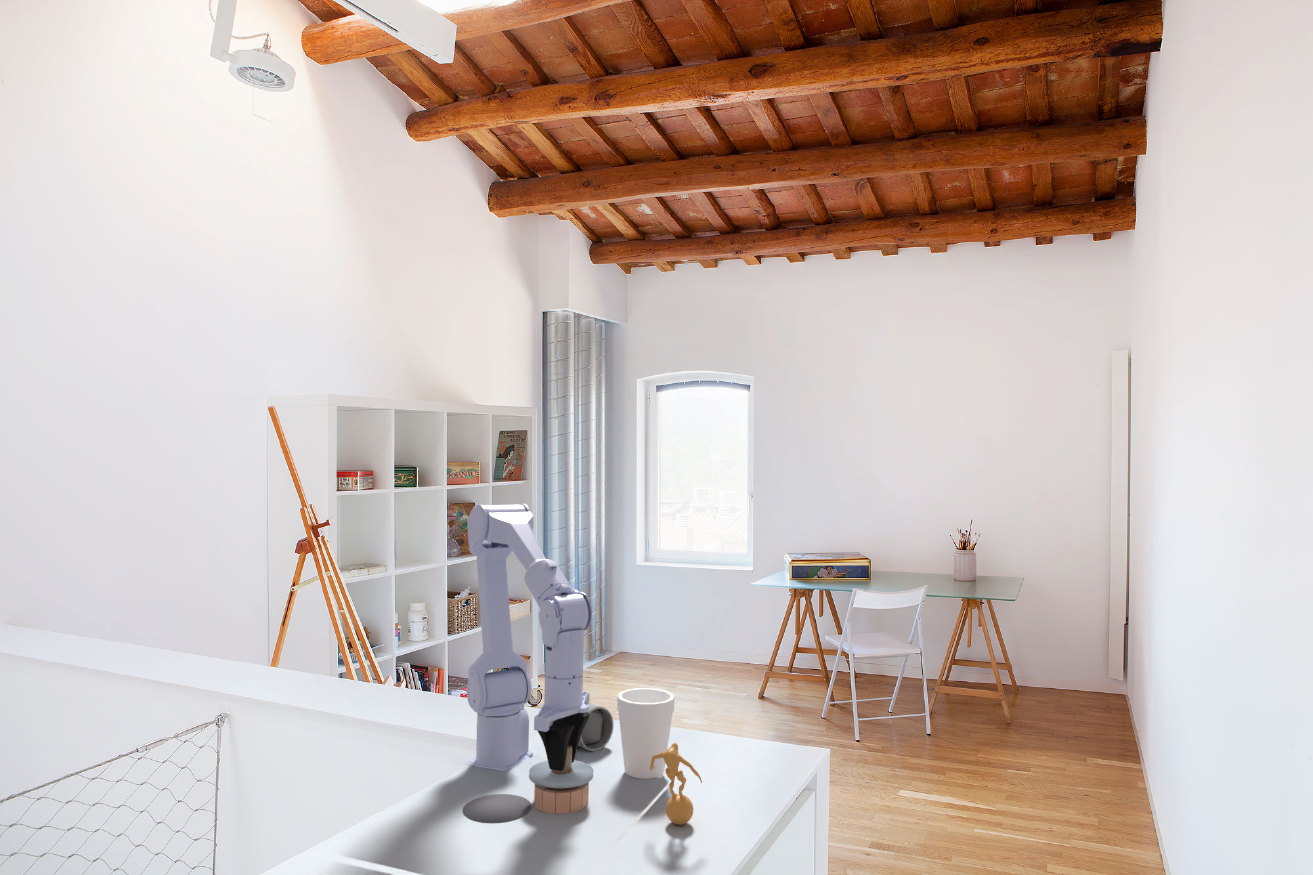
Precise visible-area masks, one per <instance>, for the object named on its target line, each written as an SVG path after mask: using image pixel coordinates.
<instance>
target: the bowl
mask: <svg viewBox="0 0 1313 875" xmlns="http://www.w3.org/2000/svg"><path fill="white" fill-rule="evenodd" d="M589 783H590V782H588V783H586V784H584V785H581V786H577V787H572V788H548V787H543V786H540V785H537V784H535V783H534V786H533V789H534V793H533V796H534V797H533V801H534V802H533V803H534V804H533V805H534V807H535V808H536V809H538V810H539V811H542V812H543V813H547V814H548V813H549V814H557V815H559V814H571V813H574V812H577V811H578V812H579V811H580V810H581V811H582V810H583V809H584V808H585V807H586V806H587V805H588V804H589V795H590V794H589V788H590V784H589Z"/></svg>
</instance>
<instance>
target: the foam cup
mask: <svg viewBox="0 0 1313 875" xmlns="http://www.w3.org/2000/svg"><path fill="white" fill-rule="evenodd" d="M616 702H617V703H616V705H617V706H616V710H617V712H618V720H619V728H620V737H621V738H620V739H621V745H622V747H621V749H622V756H623V757H622V758H623V766H624V773H625V774H626V775H627V776H629V777H632V778H636V779H642V780H643V779H644V780H645V779H647V780H649V779H656V778H657V779H663V777H664V775H665V774H664V773H665V770H666V763H665V761H664V758H659V759H655V761H654V765H653V766H655V767H653V768H654V770H653V768H652V770H651V771H650V765H651V761H652V757H653V756H654V755H657V754H660V753H662V752H665V751H667V750H668V749H669V748H668V747H669V741H670V740H669V738H670V734H671V725H672V718H673V713H674V712H675V695H674V693H672V692H670V691H668V690H664V689H661V688H654V687H653V688H652V687H645V688H644V687H638V688H630V689H629V688H628V689H626V690H623V691H620V692H618V694H617V698H616Z"/></svg>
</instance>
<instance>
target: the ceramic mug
mask: <svg viewBox="0 0 1313 875" xmlns="http://www.w3.org/2000/svg"><path fill="white" fill-rule="evenodd" d="M588 705H589V710H588V711H587V712H588V713H589V719H588V721H587V723H586V724H585V727H584V729H583V731H582V734H581V737H580V740H579V744H578V747H580V748H583V750H586V751H589V752H597V751H600V750H602V749H603V748H604V747H605V746H607V744H608V743H609V742H610V740H611V738H612V735H613V732H614V719H613V718H614V717H613V714H611V713H612V712H610V710H609V709H608V708H606V707H604V706H602V705H601V706H600V705H597V704H592V703H589V704H588Z"/></svg>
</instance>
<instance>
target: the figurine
mask: <svg viewBox="0 0 1313 875" xmlns="http://www.w3.org/2000/svg"><path fill="white" fill-rule="evenodd" d="M659 758H664V761H665V766H666V767H665V769H664V773H665V774H666V777H667V778H668V779H669V780H670V782H669V784H668V787H669V791H670V794H671V797H670V798H669V799H668V800H667V802H666V804H665V813H666V817H667V819H668V820H669V822H671V823H672V824H674V825H677V826H682V825H685V824H687V823H689V821H690V820H691V819H692V817H693V814H694V804H693V802H692V800H691V799H690V798H689V797H688V796H686V795H684V794H683V791H684V788H685V786H686V782H687V778H686V776H684V772H683V770H682V769H681V770H679V766H680V763H681V764H683V765H684V766H686V767H688V768H689V769H690V771H691V772H692V773H693V774H694V775H695V776H697V778H698V779H699V780H700V784H702V783H703V781H702V777H701V775H700V774H699V773H698V771H697V770H696V769H695V768H694V766H693V765H692V764H691V763H690V762H689V761H688V760H687V759H685V758H683V756H681V754H680V753H679V745H678V743H677V742H674V743H672V744H671V745H670V747H669V748H667V751H665V752H662V753H660V754H657V755H654V756H653V757H652V761H651V765H650V771H651V770H652V768H653V767H655V766H653V765H654V761H655V759H659ZM653 770H654V768H653ZM675 779H677V780H678V781H679V782H680V783H681V784H680V785H679V786H678V793H676V792H675V790H674V787H675Z"/></svg>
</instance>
